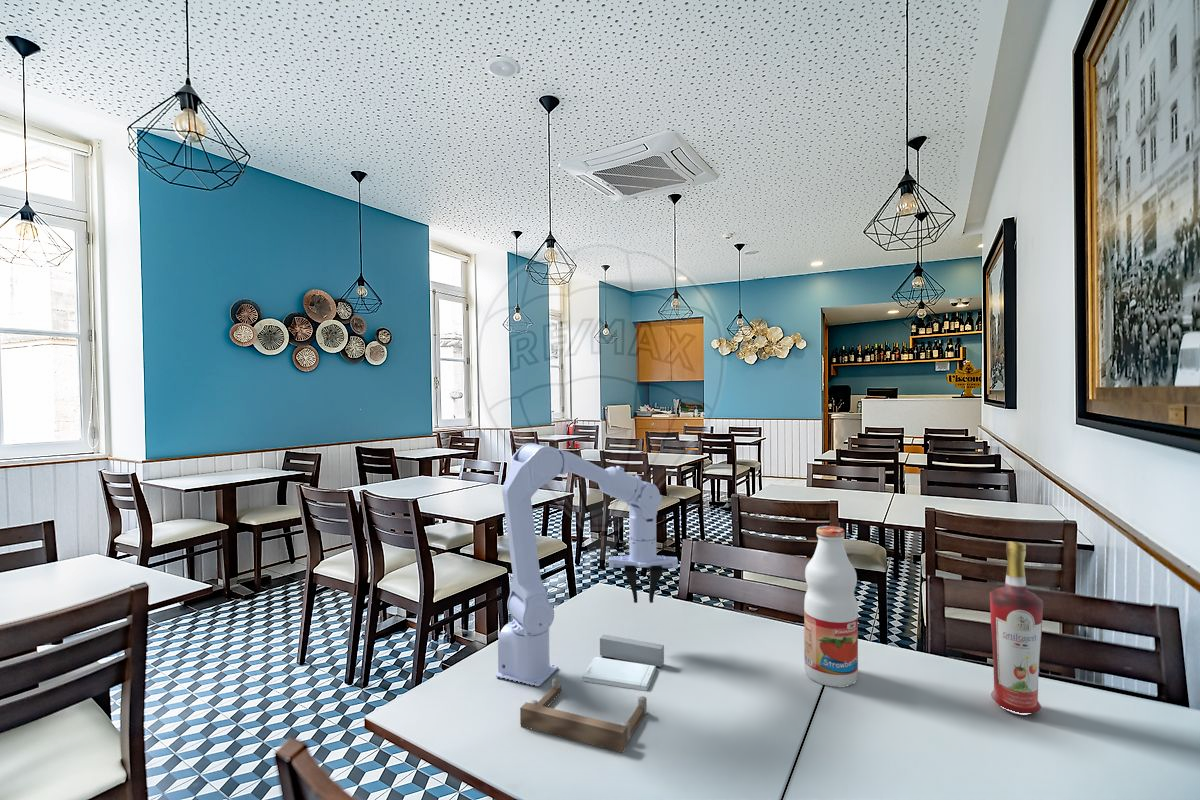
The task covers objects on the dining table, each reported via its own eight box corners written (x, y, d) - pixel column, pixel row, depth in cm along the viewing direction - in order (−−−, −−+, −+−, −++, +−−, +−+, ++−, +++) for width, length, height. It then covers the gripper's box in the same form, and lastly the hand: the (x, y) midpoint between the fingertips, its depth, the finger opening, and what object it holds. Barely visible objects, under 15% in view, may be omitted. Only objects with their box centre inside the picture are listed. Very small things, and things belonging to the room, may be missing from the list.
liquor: (1036, 702, 98) (1036, 540, 98) (1048, 724, 92) (1049, 551, 91) (985, 693, 101) (985, 536, 101) (993, 714, 95) (994, 546, 94)
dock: (520, 726, 93) (520, 707, 93) (554, 690, 104) (554, 674, 104) (622, 752, 86) (622, 732, 86) (647, 711, 97) (647, 694, 96)
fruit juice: (830, 660, 114) (830, 520, 114) (869, 682, 106) (869, 531, 105) (793, 669, 111) (793, 525, 110) (830, 693, 102) (830, 537, 101)
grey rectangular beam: (599, 655, 117) (599, 638, 117) (603, 651, 118) (603, 634, 118) (661, 666, 111) (660, 649, 111) (664, 662, 113) (663, 644, 113)
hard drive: (581, 675, 107) (646, 684, 103) (595, 655, 115) (655, 664, 111) (581, 684, 107) (646, 693, 103) (595, 664, 115) (656, 672, 111)
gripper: (608, 542, 118) (608, 608, 118) (679, 542, 117) (679, 608, 117) (609, 534, 125) (609, 595, 125) (675, 534, 124) (676, 596, 124)
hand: (643, 601), depth 122 cm, fingers open, 3 cm apart
